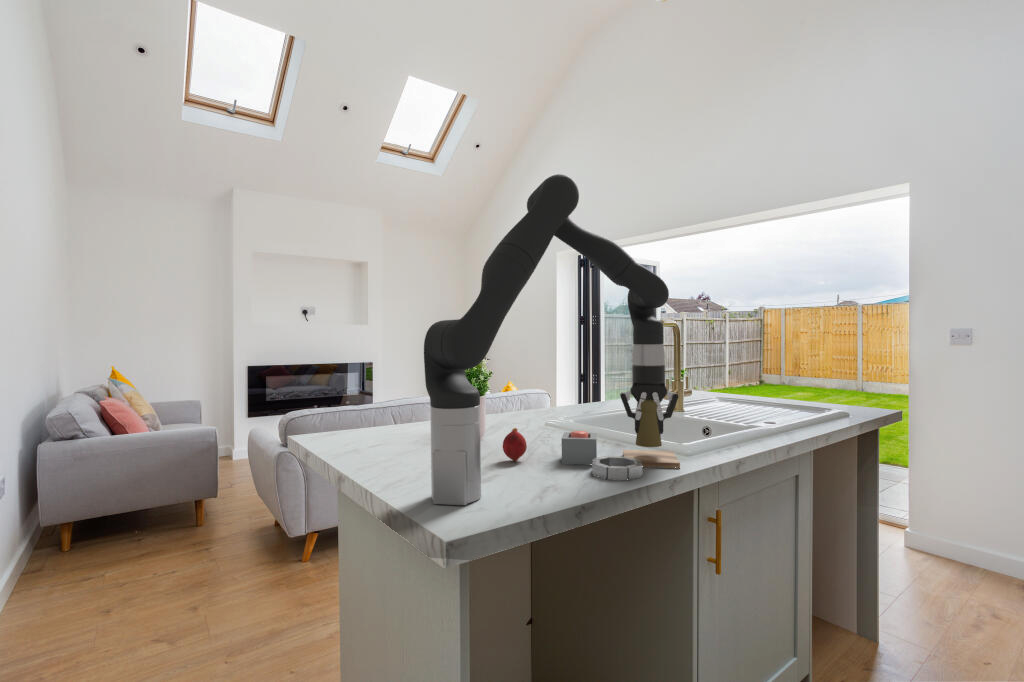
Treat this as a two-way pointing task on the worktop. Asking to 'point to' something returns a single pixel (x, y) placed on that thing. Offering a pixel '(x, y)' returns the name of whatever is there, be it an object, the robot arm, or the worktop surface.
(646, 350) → the robot arm
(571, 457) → the housing
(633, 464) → the seat ring
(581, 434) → the plunger
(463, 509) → the worktop surface
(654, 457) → the board
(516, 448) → the onion
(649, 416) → the cork
